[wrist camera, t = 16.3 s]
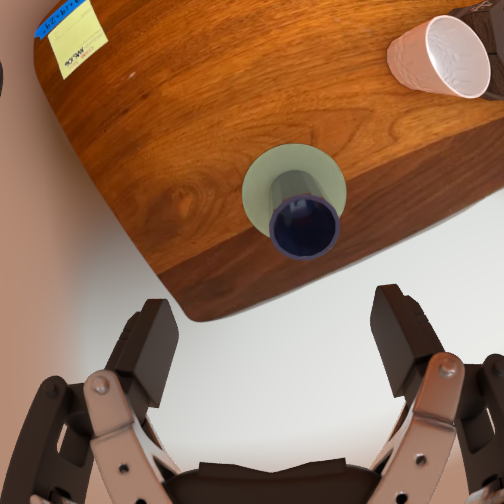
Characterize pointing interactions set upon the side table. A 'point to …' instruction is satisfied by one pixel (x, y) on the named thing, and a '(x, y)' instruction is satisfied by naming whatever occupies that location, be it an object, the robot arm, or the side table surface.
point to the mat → (283, 161)
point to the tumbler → (301, 216)
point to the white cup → (441, 58)
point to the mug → (488, 39)
